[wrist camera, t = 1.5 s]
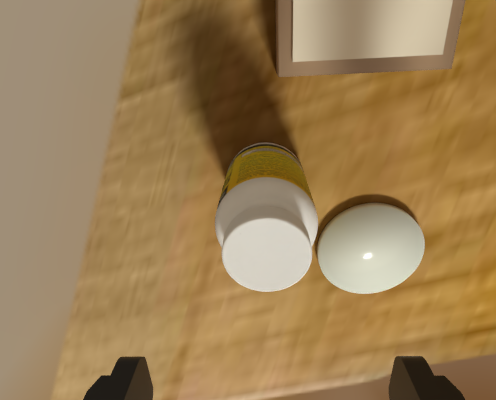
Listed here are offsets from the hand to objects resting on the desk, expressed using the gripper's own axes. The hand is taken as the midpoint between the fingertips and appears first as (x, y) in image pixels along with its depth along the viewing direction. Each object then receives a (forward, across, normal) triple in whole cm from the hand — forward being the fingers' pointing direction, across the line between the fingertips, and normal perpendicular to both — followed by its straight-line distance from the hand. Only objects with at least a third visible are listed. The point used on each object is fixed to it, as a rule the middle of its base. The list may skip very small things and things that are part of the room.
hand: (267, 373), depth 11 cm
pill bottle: (+18, 0, 0) cm, 18 cm away
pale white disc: (+18, -9, +7) cm, 21 cm away
